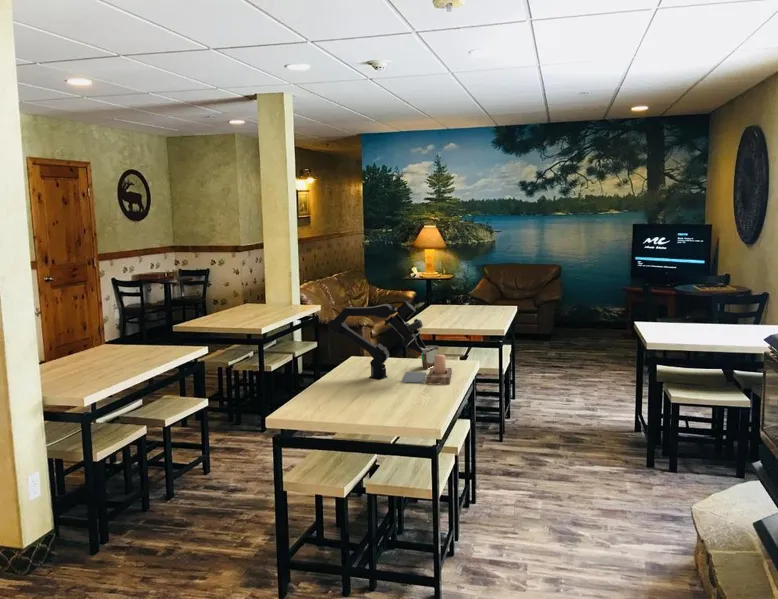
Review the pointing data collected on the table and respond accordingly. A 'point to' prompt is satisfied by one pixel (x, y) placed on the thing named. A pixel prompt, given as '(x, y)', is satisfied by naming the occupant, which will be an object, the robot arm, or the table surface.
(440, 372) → the pink tall rounded piece
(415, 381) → the mat
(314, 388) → the table surface
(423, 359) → the food container
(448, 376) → the well block
